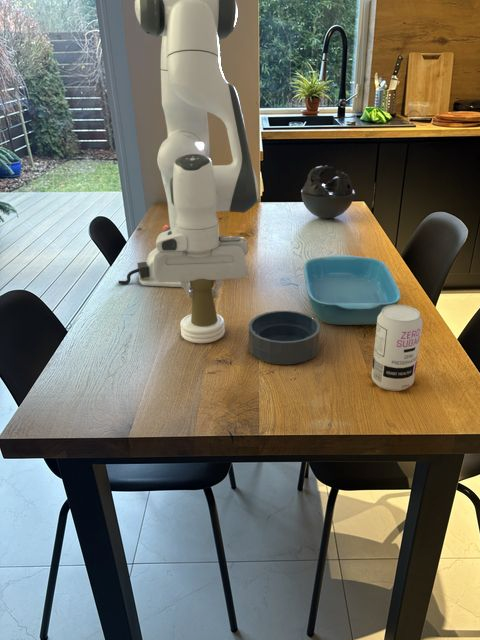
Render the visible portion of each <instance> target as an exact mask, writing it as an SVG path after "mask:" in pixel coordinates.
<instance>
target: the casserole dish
mask: <svg viewBox="0 0 480 640" xmlns="http://www.w3.org/2000/svg"><path fill="white" fill-rule="evenodd" d="M303 276H304V277H303V278H304V282H305V288H306V293H307V296H308V301H309V303H310V306H311V307H310V308H311V309H312V311H313V313H314V315H315V316H316V317H317V319H319V320H320V321H321V322H323V323H325V324H327V325H334V326H353V325H354V326H371V325H373V326H374V325H377V318H378V316H379V314H380V313H381V312H382V309H383V308H384V307H386V306H389V305H399V302H400V301H401V298H402V297H401V291H400V288H399V286H398V285H397V283H396V281H395V279H394V277H393V274H392V273H391V270H390V268H389V267H388V265H387V264H386V263H385V262H383V261H382V260H380V259H377V258H374V257H367V256H365V257H364V256H358V255H351V254H350V255H349V254H333V255H327V256H322V257H314V258H310V259H308V260H307V261H305V263H304V264H303Z"/></svg>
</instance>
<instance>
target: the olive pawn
mask: <svg viewBox="0 0 480 640" xmlns="http://www.w3.org/2000/svg"><path fill="white" fill-rule="evenodd" d="M214 281H215V280H207V279H197V280H194V281H190V286H191V288H190V289H193V292H194V295H193V299H191V300H192V301H191V314H192V315H191V322H192V324H194V325H197V326H210V325H213V324H215V323H216V322H217V321H218V319H217V314H218V313H217V310H216V305H215V300H214V299H215V298H212V294H211V291H212V288H214V283H215V282H214Z"/></svg>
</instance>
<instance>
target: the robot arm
mask: <svg viewBox="0 0 480 640" xmlns="http://www.w3.org/2000/svg"><path fill="white" fill-rule="evenodd" d="M134 11H135V12H134V13H135V16H136V19H137V22H138V23H139V27H140V28H141V30H142V31H143V32H144V33H146V34H148V35H149V36H153V37H160V36H162V37H161V45H160V88H161V106H162V109H163V115H164V118H165V119H164V120H165V125H166V131H167V136H166V137H167V138H166V139H165V140H163V141H162V142H161V145H160V146H159V149H158V152H157V158H156V161H157V163H156V164H157V167H158V169H159V172H160V174H161V179H162V183H163V187H164V192H165V196H166V201H167V211H168V223H169V225H168V224H165V225H163V227H162V232H160V233H159V234H158V235H157V237H156V241H155V248H154V249H152V250H151V251H150V252H149V254H148V255H147V258H146V261H140V262H137V268H136V269H132V270H131V271H129V272H128V273H127V275H126V280H118V281H117V283H118V285H128V284H129V283H130V282H131V276H132V275H134V274H137V273H138V283H140V285H142V286H148V287H167V288H168V287H171V288H182V289H183V290H184V292H185V293H186V299H187V300H192V299H193V295H194V292H193V289H192V288H191V286H190V281H194V280H197V279H207V280H213V281H215V287H212V291H211V294H212V298H213V299H219V291H220V289H221V287H222V285H223V280H224V281H225V280H227V281H228V280H243V279H245V278H246V277H247V276H248V265H247V258H246V256H247V255H248V252H249V243H248V241H247V239H246V238H244V237H241V236H240V235H234V236H233V235H231V236H229V235H220V225H219V224H220V223H219V218H218V214H217V212H230V213H242V214H245V213H247V212H248V211H249V210H251V209H252V208H253V207H254V206H255V205H256V204H257V203H258V199H259V195H260V194H259V193H260V189H259V182H258V178H257V174H256V172H255V169H254V166H253V163H252V157H251V151H250V147H249V141H248V136H247V135H248V134H247V130H246V126H245V120H244V115H243V113H242V108H241V104H240V99H239V95H238V92H237V90H236V87H235V85H233V84H231V83H230V82H228V81H227V80H226V78H225V75H224V73H223V71H222V66H221V56H220V55H221V54H220V53H221V51H220V43H219V41H221V40H223V39H226V38H228V37H229V36H230V35H231V34H232V33H233V31H234V29H235V25H236V22H237V18H238V5H237V0H134ZM208 113H210V114H212V115H214V116H215V117H217V118H219V119H220V120H221V121H222V122H223V124H224V126H225V128H226V132H227V137H228V143H229V147H230V152H231V153H230V154H231V157H232V162H231V163H229V164H222V165H221V164H220V165H217V164H216V165H215V164H214V165H213V162H212V160H211V158H210V152H211V149H210V148H211V147H210V130H209V119H208Z"/></svg>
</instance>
